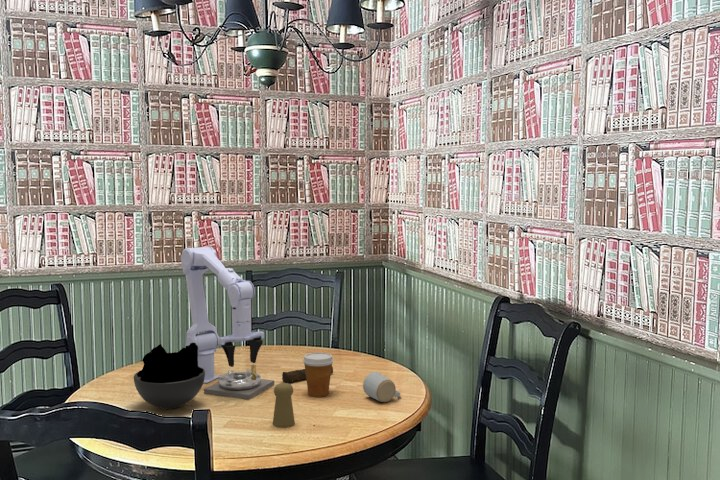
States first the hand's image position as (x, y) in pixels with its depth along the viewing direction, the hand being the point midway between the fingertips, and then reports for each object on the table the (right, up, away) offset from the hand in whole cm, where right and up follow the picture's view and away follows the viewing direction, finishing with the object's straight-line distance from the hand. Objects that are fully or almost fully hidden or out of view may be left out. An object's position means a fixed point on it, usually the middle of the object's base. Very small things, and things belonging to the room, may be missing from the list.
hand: (242, 364), depth 206 cm
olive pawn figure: (+16, -12, -25) cm, 31 cm away
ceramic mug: (+43, -10, -3) cm, 45 cm away
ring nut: (-2, -7, +5) cm, 9 cm away
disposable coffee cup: (+23, -10, +1) cm, 25 cm away
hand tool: (+19, -8, +18) cm, 27 cm away
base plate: (-2, -9, +5) cm, 11 cm away
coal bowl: (-19, -11, -11) cm, 25 cm away
